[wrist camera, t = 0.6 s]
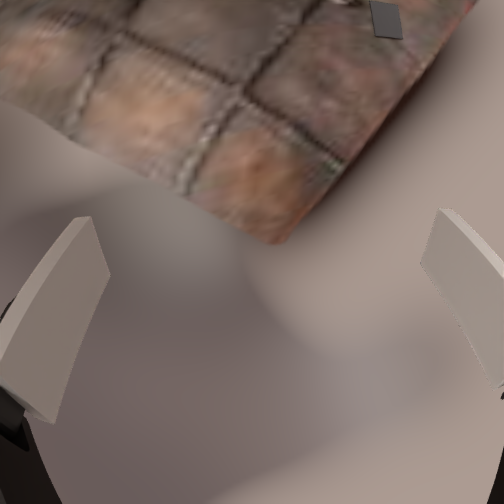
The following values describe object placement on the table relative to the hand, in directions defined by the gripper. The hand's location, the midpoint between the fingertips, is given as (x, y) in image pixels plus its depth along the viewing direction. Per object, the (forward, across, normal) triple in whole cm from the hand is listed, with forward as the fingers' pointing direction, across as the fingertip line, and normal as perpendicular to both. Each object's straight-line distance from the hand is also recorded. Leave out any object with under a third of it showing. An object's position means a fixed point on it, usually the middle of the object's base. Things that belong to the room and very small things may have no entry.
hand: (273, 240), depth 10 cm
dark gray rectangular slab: (+27, +17, +15) cm, 35 cm away
